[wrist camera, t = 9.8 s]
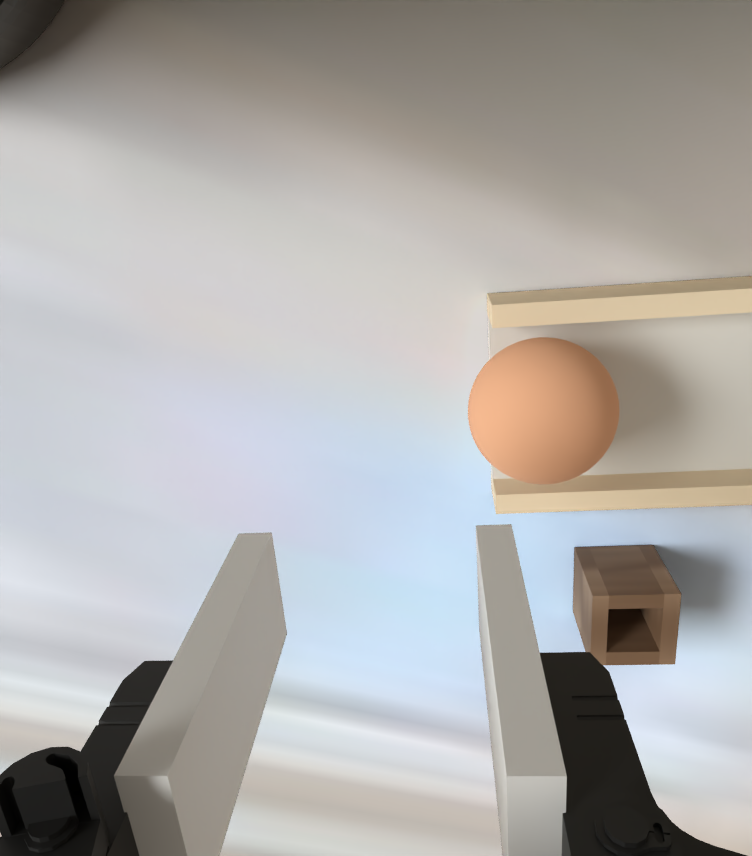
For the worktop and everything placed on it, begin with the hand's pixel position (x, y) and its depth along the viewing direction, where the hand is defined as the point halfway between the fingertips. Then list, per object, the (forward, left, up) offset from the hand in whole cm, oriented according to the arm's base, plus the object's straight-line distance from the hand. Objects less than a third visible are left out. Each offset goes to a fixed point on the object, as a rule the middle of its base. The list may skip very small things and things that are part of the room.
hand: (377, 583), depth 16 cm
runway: (0, +10, -13) cm, 16 cm away
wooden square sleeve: (+9, +9, -13) cm, 17 cm away
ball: (0, +5, -9) cm, 11 cm away
